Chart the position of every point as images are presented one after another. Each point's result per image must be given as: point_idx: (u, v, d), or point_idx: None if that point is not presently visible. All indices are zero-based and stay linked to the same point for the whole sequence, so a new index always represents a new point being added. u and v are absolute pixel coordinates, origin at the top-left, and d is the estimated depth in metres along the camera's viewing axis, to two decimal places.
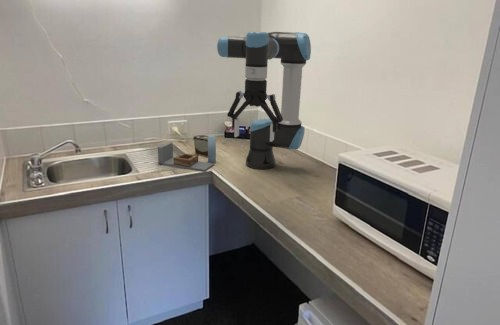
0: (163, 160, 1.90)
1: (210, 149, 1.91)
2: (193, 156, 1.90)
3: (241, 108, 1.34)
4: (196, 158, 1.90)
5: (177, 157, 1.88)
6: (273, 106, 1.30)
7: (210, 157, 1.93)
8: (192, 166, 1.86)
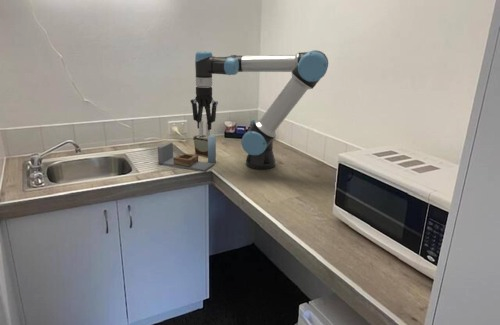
0: (163, 160, 1.90)
1: (210, 149, 1.91)
2: (193, 156, 1.90)
3: (199, 111, 1.77)
4: (196, 158, 1.90)
5: (177, 157, 1.88)
6: (212, 110, 1.75)
7: (210, 157, 1.93)
8: (192, 166, 1.86)
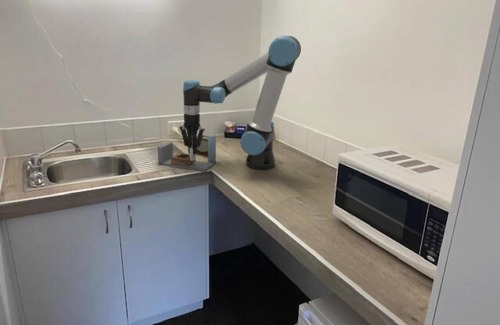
0: (163, 160, 1.90)
1: (210, 149, 1.91)
2: None
3: (188, 137, 1.84)
4: None
5: (174, 157, 1.88)
6: (198, 136, 1.82)
7: (210, 157, 1.93)
8: (192, 166, 1.86)
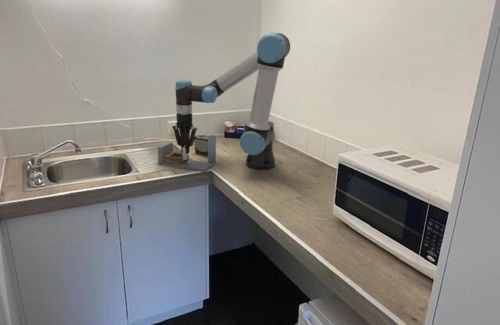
0: (163, 160, 1.90)
1: (210, 149, 1.91)
2: None
3: (181, 136, 1.85)
4: None
5: (167, 155, 1.89)
6: (191, 135, 1.83)
7: (210, 157, 1.93)
8: (192, 166, 1.86)
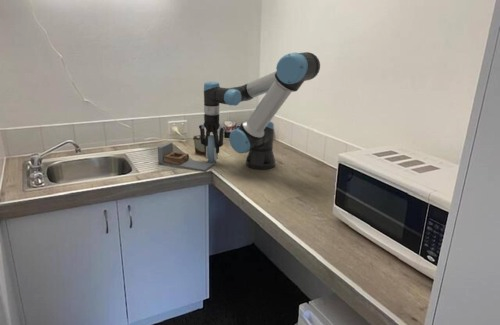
0: (163, 160, 1.90)
1: (210, 149, 1.91)
2: (184, 155, 1.92)
3: (206, 136, 1.90)
4: (186, 157, 1.92)
5: (167, 155, 1.89)
6: (220, 135, 1.88)
7: (210, 157, 1.93)
8: (192, 166, 1.86)
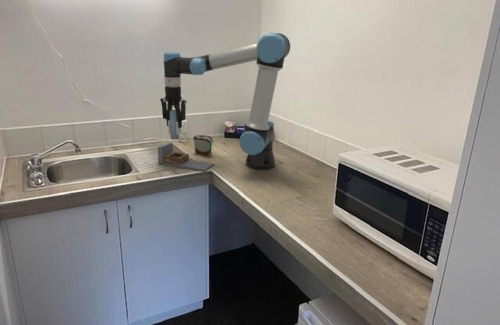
0: (163, 160, 1.90)
1: (172, 124, 1.84)
2: (184, 155, 1.92)
3: (168, 110, 1.83)
4: (186, 157, 1.92)
5: (167, 155, 1.89)
6: (181, 108, 1.80)
7: (172, 133, 1.86)
8: (192, 166, 1.86)
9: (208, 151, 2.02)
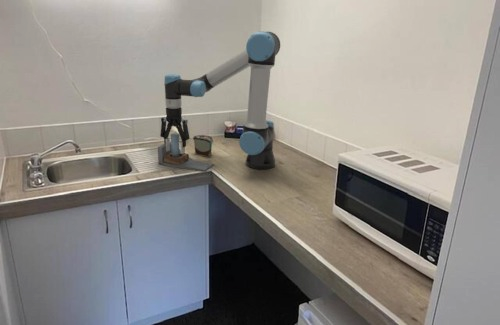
0: (163, 160, 1.90)
1: (173, 148, 1.88)
2: (184, 155, 1.92)
3: (167, 129, 1.87)
4: (186, 157, 1.92)
5: (167, 155, 1.89)
6: (184, 128, 1.83)
7: (173, 156, 1.89)
8: (192, 166, 1.86)
9: (208, 151, 2.02)
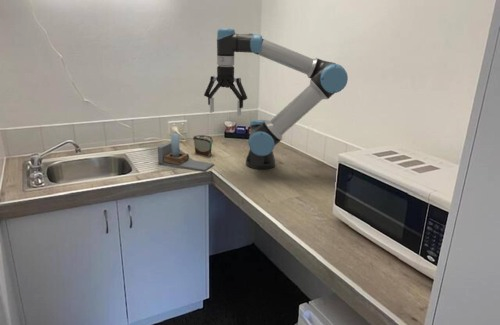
0: (163, 160, 1.90)
1: (173, 148, 1.88)
2: (184, 155, 1.92)
3: (214, 89, 1.70)
4: (186, 157, 1.92)
5: (167, 155, 1.89)
6: (239, 87, 1.65)
7: (173, 156, 1.89)
8: (192, 166, 1.86)
9: (208, 151, 2.02)
